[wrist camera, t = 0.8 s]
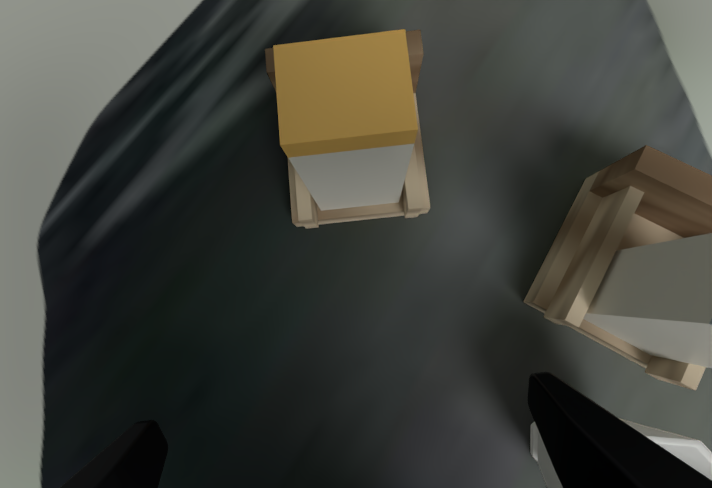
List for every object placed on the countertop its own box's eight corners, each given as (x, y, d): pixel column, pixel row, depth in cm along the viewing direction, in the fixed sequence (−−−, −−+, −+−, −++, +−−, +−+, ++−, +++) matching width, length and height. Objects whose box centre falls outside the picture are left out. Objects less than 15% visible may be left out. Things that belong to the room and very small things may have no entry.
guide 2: (652, 381, 22) (742, 409, 17) (519, 308, 23) (563, 312, 18) (715, 242, 23) (819, 226, 18) (585, 178, 24) (646, 145, 19)
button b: (650, 355, 21) (908, 410, 11) (570, 311, 21) (744, 326, 11) (678, 294, 21) (952, 294, 11) (598, 253, 22) (790, 218, 12)
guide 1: (427, 220, 24) (443, 198, 19) (297, 233, 25) (275, 216, 19) (410, 85, 26) (420, 29, 20) (287, 99, 26) (265, 48, 21)
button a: (398, 202, 23) (418, 129, 13) (321, 210, 23) (280, 145, 13) (391, 143, 23) (404, 29, 13) (316, 151, 24) (273, 45, 14)
